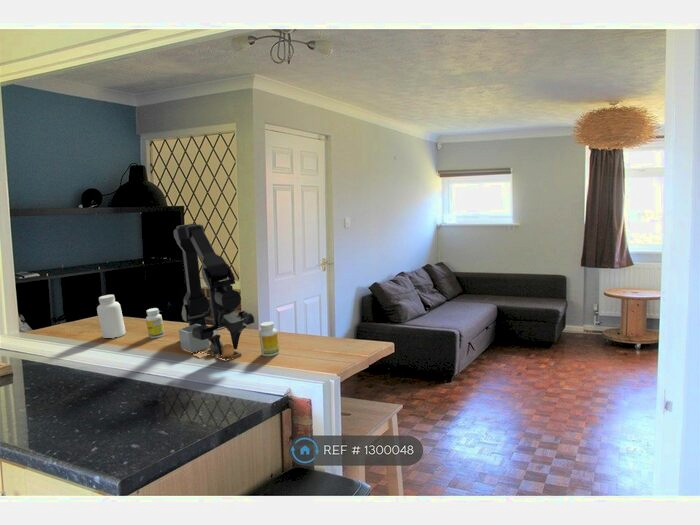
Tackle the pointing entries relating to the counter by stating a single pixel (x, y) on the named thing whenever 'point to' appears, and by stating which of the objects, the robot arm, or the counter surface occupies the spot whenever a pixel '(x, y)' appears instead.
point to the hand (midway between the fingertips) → (228, 352)
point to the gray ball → (214, 348)
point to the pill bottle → (110, 317)
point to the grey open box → (192, 340)
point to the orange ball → (227, 350)
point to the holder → (222, 357)
